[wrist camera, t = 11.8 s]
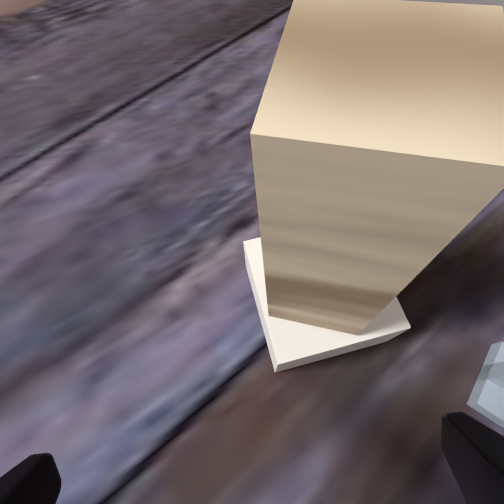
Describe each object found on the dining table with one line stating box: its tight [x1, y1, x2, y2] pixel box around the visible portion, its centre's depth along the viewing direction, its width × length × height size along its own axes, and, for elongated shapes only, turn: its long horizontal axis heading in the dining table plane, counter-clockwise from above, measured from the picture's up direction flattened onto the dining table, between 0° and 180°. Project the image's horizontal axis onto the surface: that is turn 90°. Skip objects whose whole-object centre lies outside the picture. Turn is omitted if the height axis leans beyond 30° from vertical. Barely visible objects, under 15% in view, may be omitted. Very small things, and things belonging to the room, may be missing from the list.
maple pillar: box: [250, 0, 504, 335], centre depth 12 cm, size 4×4×12 cm
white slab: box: [243, 237, 411, 373], centre depth 20 cm, size 7×7×4 cm
